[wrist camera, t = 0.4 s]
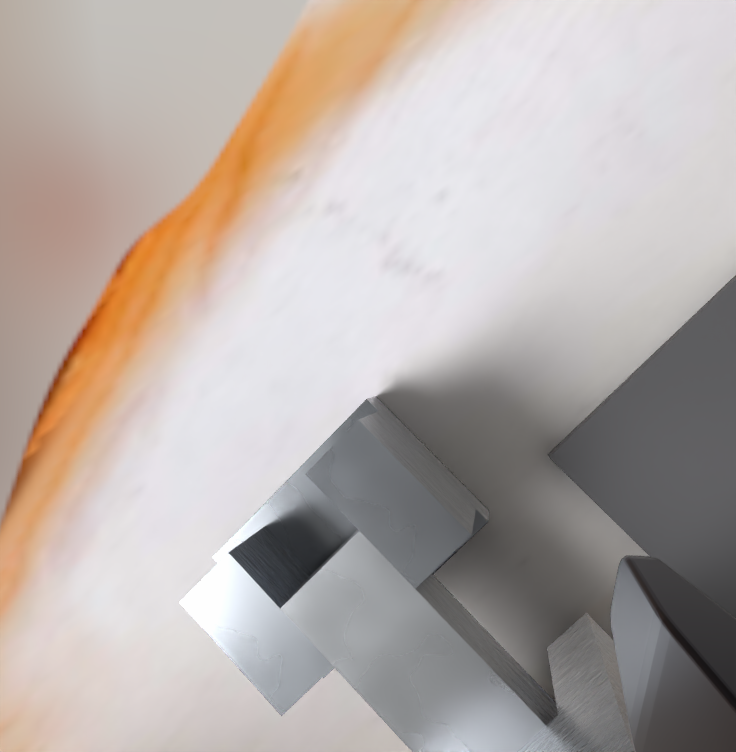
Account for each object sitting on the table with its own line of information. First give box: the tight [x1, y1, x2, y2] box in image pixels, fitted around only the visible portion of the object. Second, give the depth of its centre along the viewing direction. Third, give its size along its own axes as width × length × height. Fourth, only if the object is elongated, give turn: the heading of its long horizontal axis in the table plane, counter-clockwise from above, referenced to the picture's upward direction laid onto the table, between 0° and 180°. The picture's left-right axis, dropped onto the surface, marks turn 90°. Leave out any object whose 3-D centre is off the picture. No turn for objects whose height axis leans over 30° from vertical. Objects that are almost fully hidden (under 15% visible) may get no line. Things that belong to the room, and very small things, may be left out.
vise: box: [179, 396, 558, 752], centre depth 19 cm, size 16×7×4 cm, turn 46°
